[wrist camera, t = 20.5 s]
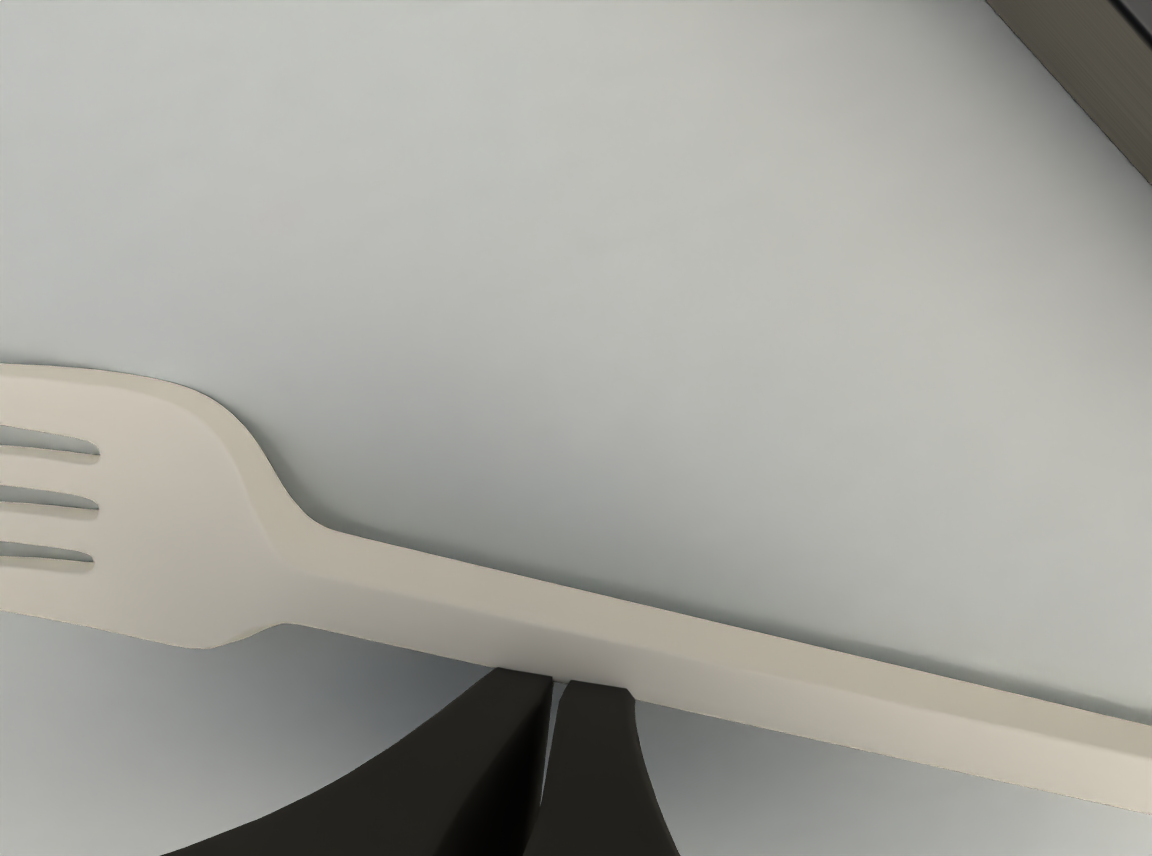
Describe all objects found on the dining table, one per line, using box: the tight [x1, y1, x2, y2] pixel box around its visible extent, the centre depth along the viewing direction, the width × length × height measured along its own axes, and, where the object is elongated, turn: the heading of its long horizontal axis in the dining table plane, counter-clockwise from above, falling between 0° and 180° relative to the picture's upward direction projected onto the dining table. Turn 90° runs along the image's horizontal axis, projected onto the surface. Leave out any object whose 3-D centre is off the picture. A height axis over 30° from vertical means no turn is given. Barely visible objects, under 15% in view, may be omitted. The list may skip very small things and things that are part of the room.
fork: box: [0, 363, 1152, 815], centre depth 12 cm, size 3×20×2 cm, turn 80°
